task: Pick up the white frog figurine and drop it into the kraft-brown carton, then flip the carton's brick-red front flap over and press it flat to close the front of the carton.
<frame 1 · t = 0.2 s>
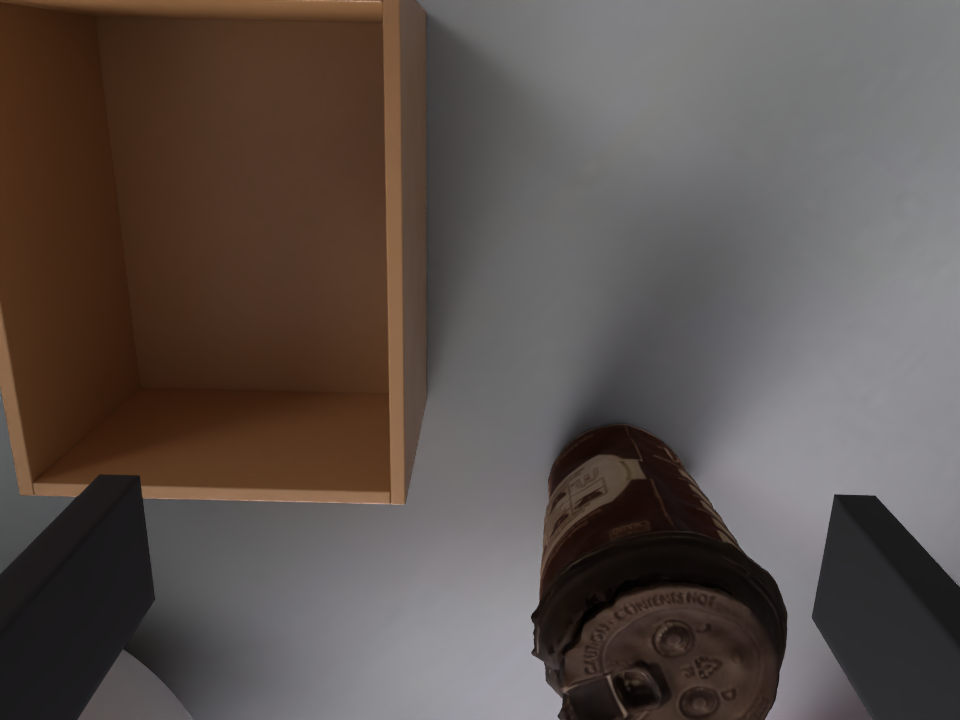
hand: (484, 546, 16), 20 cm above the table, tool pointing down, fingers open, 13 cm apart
coffee cup: (610, 483, 38), on the table
carton: (269, 216, 34), on the table
decorative bowl: (52, 712, 43), on the table
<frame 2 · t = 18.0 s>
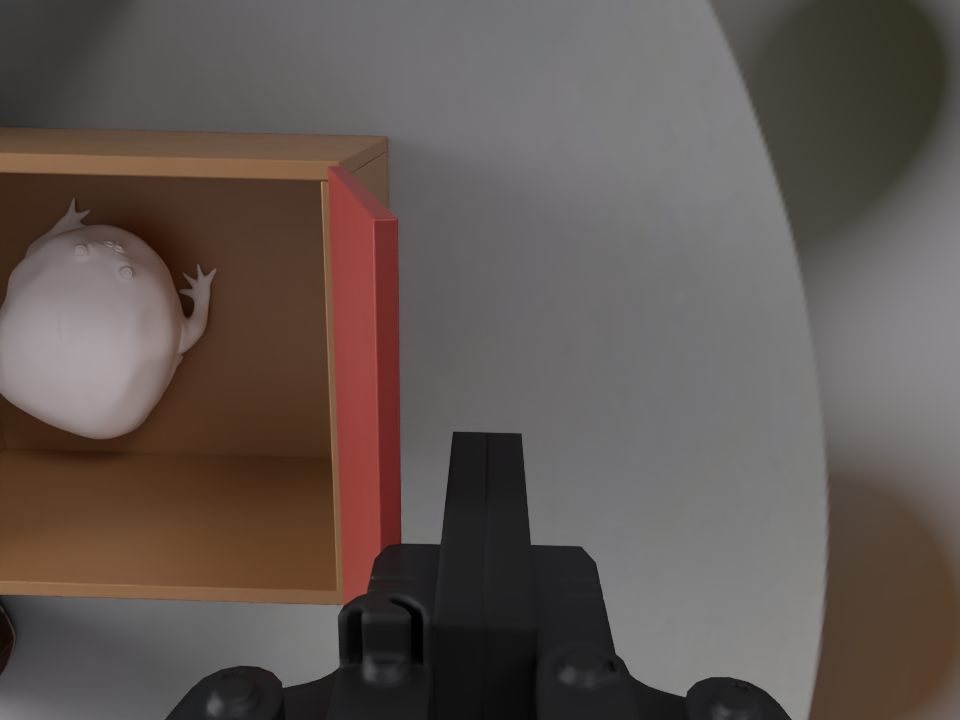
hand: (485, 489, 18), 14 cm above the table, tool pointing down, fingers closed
flap: (362, 481, 18), point 14 cm above the table, hinge at 106.0°, touching gripper
white frog figurine: (116, 315, 31), resting on carton
carton: (182, 306, 31), on the table
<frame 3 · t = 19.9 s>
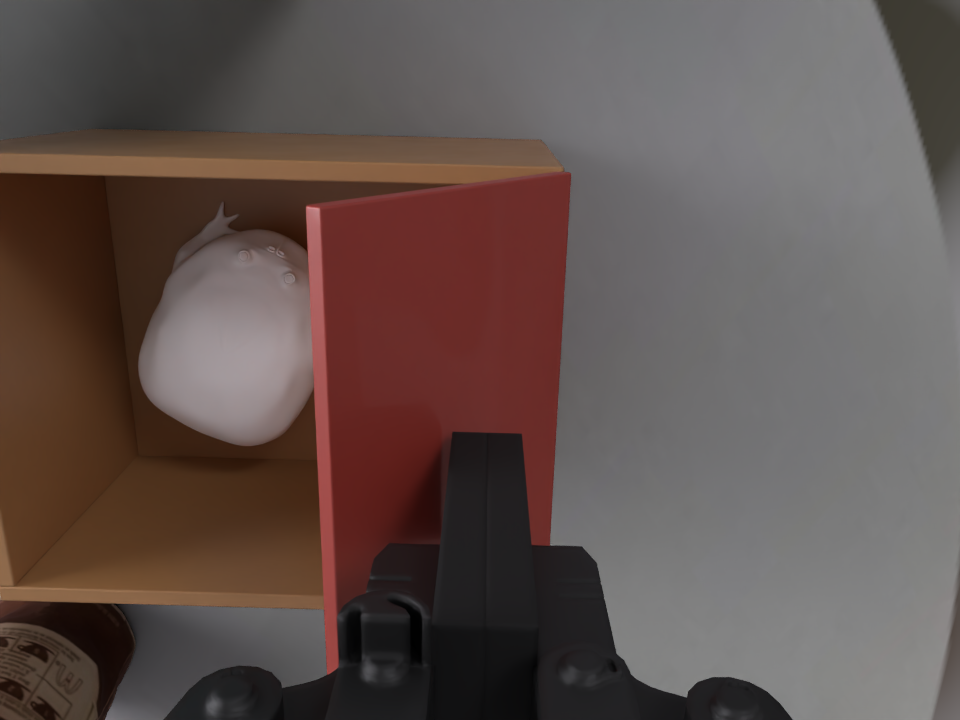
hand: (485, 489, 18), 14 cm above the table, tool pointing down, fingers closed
flap: (457, 475, 19), point 13 cm above the table, hinge at 53.4°, touching gripper
white frog figurine: (257, 320, 31), resting on carton
coffee cup: (66, 630, 36), on the table
carton: (323, 311, 31), on the table
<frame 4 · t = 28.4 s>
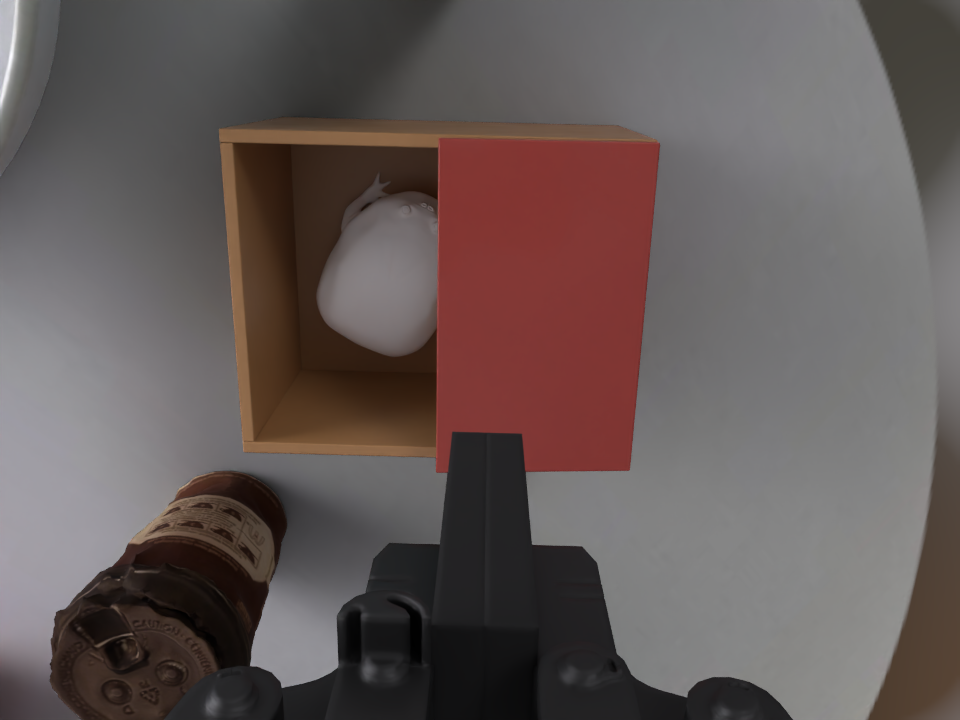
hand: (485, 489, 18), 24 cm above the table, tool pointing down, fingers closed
flap: (541, 316, 31), point 10 cm above the table, hinge at 4.8°
white frog figurine: (398, 263, 41), resting on carton
coffee cup: (231, 513, 46), on the table
carton: (448, 256, 41), on the table
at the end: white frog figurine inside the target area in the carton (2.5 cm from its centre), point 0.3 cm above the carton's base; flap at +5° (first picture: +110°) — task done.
